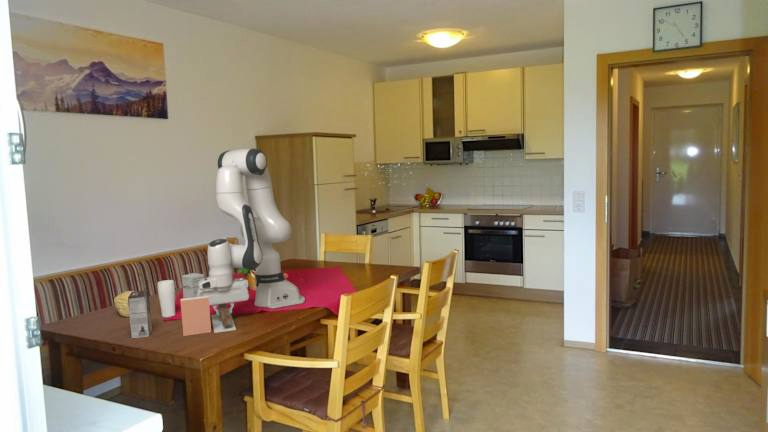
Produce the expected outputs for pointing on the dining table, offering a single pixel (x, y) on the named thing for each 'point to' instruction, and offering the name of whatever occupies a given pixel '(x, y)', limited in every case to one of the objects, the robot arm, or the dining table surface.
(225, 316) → the stick
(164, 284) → the drinking glass
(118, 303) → the sculpture
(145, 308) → the coffee box
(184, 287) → the supplement box
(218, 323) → the mat
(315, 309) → the dining table surface
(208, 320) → the tile
